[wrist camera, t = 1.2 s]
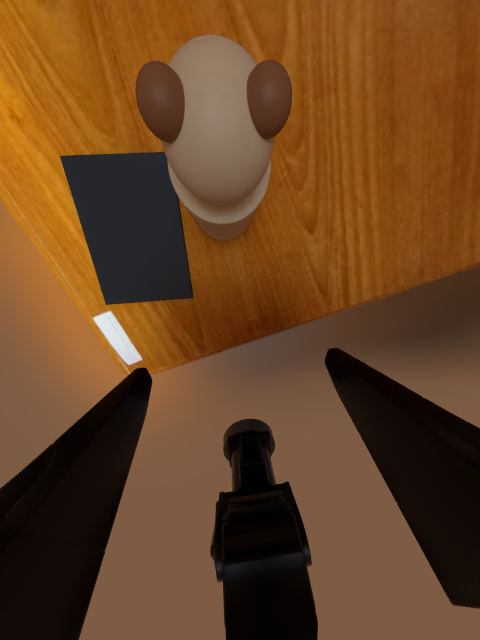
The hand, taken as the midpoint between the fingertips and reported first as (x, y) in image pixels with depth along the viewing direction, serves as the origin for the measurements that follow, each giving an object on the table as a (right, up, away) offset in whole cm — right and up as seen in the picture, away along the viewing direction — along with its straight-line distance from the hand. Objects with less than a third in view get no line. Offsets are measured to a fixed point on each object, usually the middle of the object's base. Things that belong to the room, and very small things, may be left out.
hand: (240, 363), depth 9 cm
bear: (-2, +14, +10) cm, 17 cm away
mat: (-11, +11, +10) cm, 19 cm away
